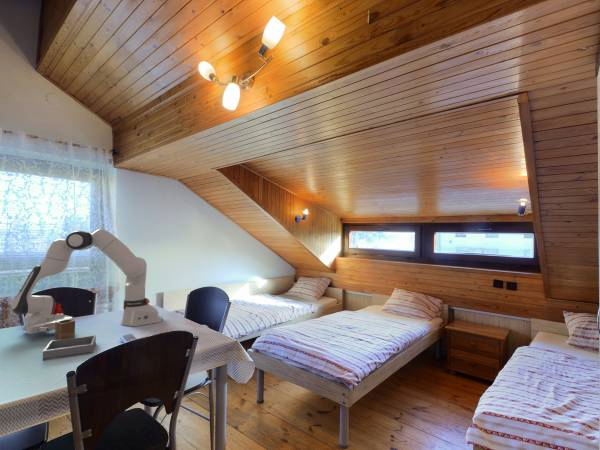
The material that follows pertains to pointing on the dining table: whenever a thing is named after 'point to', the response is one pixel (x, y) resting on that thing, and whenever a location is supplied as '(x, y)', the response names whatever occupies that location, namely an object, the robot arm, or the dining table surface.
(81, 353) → the grey crate
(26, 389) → the dining table surface
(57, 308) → the ceramic cup
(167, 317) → the dining table surface
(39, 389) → the dining table surface
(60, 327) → the walnut crate
